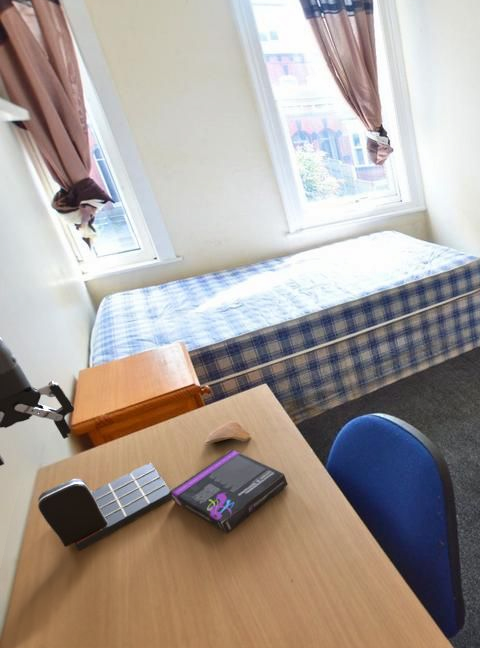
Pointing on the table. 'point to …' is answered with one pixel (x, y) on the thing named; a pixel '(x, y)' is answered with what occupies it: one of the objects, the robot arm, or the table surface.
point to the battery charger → (71, 511)
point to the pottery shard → (228, 433)
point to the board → (128, 500)
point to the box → (229, 490)
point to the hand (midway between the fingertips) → (34, 449)
